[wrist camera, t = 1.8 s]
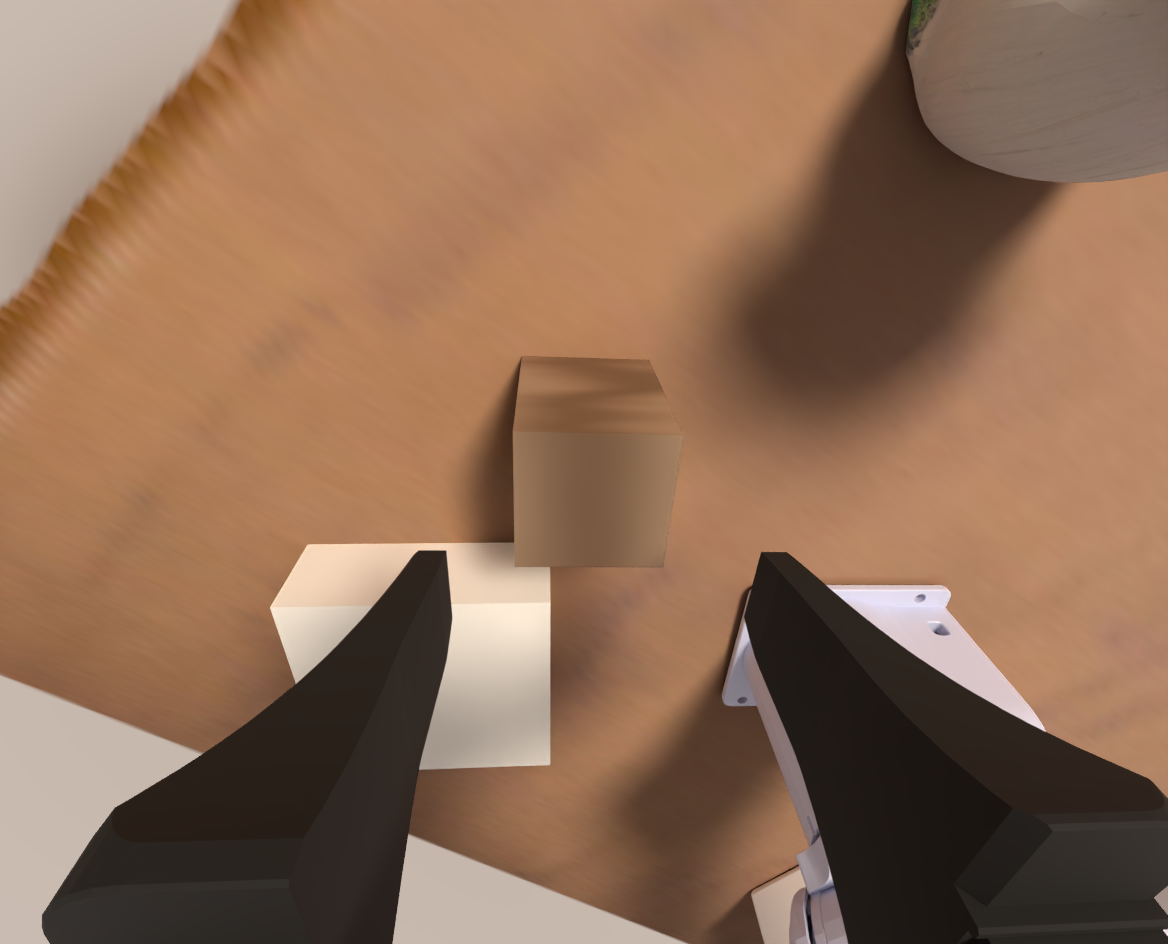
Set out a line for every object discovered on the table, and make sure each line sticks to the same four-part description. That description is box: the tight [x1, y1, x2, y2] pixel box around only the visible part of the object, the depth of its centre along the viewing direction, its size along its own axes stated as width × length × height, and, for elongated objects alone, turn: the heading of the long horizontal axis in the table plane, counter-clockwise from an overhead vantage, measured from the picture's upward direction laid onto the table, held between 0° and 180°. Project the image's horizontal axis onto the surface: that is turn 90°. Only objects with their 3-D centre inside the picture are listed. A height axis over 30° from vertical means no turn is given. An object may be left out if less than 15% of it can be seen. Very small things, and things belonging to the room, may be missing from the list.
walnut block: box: [513, 356, 684, 568], centre depth 18 cm, size 4×4×6 cm
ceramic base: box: [270, 543, 550, 770], centre depth 25 cm, size 10×10×4 cm
